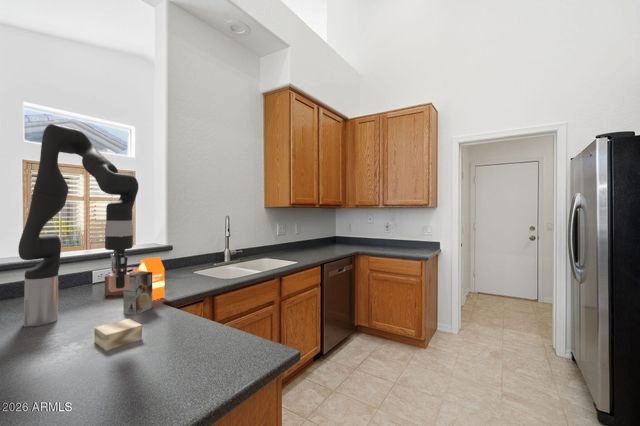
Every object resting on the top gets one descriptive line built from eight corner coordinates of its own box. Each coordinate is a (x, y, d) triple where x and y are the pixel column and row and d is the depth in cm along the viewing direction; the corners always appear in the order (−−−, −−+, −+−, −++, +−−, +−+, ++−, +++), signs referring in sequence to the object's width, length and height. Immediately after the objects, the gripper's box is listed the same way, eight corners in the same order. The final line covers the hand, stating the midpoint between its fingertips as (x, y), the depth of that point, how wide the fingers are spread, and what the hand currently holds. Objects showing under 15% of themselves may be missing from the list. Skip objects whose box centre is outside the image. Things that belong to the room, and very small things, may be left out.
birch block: (106, 351, 88) (106, 335, 88) (94, 342, 94) (94, 327, 94) (141, 340, 96) (142, 325, 96) (128, 332, 102) (129, 318, 102)
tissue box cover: (121, 284, 170) (121, 267, 170) (149, 282, 174) (149, 266, 174) (104, 296, 145) (104, 276, 145) (137, 294, 150) (137, 274, 150)
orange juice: (164, 298, 143) (164, 257, 143) (147, 303, 135) (147, 259, 135) (153, 296, 146) (154, 256, 146) (136, 300, 138) (136, 258, 138)
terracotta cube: (110, 292, 92) (110, 276, 92) (108, 288, 95) (108, 273, 95) (129, 289, 95) (129, 274, 95) (126, 286, 99) (126, 271, 99)
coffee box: (140, 306, 129) (140, 270, 129) (153, 307, 128) (153, 271, 128) (122, 313, 120) (123, 275, 120) (135, 315, 119) (136, 275, 119)
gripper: (102, 233, 98) (101, 284, 98) (108, 236, 87) (107, 292, 87) (128, 232, 103) (128, 280, 103) (137, 235, 92) (136, 288, 92)
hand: (118, 286), depth 95 cm, fingers closed on terracotta cube, 5 cm apart
